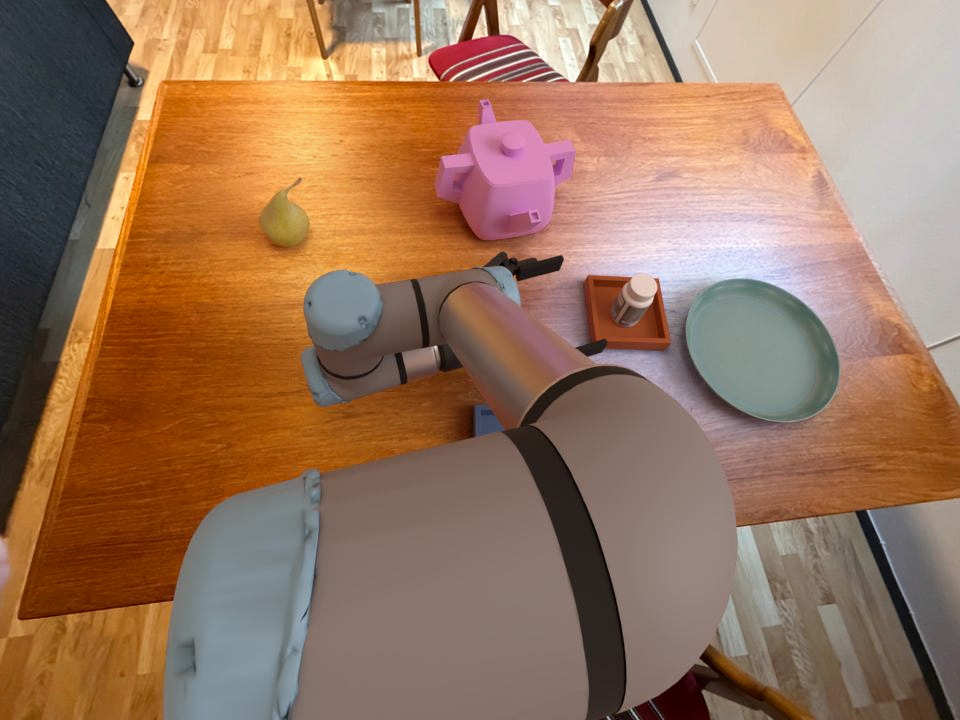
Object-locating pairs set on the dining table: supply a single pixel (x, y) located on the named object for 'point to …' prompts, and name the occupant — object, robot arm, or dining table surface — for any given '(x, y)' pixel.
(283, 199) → the fruit
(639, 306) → the pill bottle
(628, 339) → the burnt orange tray
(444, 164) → the teapot
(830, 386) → the saucer
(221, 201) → the dining table surface
